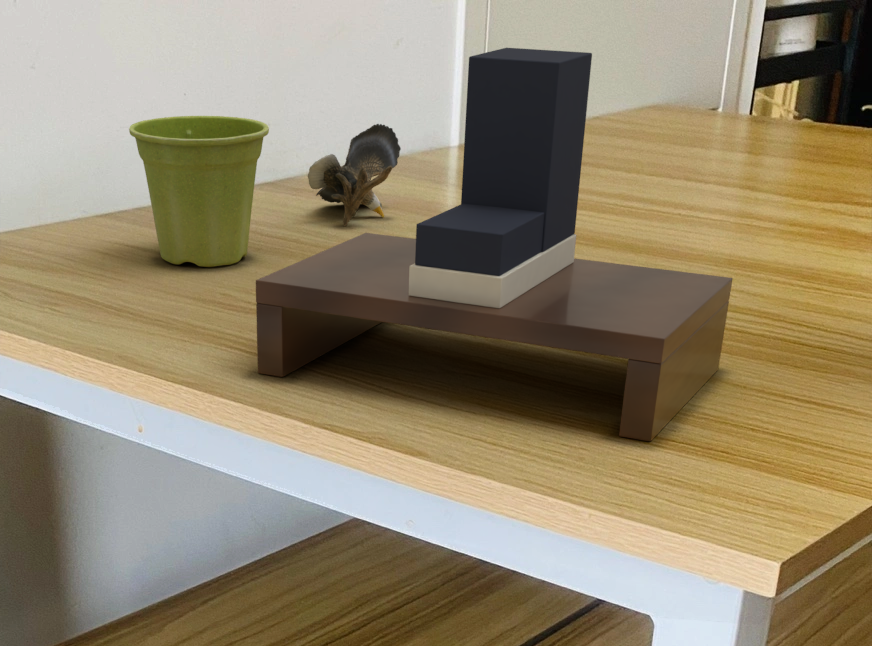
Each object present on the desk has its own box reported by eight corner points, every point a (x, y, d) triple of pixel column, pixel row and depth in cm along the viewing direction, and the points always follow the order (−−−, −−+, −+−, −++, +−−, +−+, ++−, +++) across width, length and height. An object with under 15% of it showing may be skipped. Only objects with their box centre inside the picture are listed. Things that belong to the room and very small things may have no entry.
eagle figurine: (419, 212, 105) (421, 168, 112) (369, 131, 101) (374, 91, 108) (336, 263, 108) (343, 217, 115) (285, 186, 104) (295, 143, 111)
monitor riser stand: (718, 369, 76) (732, 277, 73) (650, 442, 66) (664, 338, 63) (363, 316, 85) (365, 232, 82) (257, 373, 75) (255, 280, 72)
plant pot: (295, 263, 96) (294, 130, 91) (173, 280, 92) (166, 141, 87) (232, 237, 103) (228, 111, 98) (116, 252, 98) (106, 121, 94)
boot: (490, 251, 78) (503, 47, 72) (574, 262, 76) (594, 52, 70) (408, 295, 70) (416, 68, 64) (499, 308, 68) (516, 75, 62)
